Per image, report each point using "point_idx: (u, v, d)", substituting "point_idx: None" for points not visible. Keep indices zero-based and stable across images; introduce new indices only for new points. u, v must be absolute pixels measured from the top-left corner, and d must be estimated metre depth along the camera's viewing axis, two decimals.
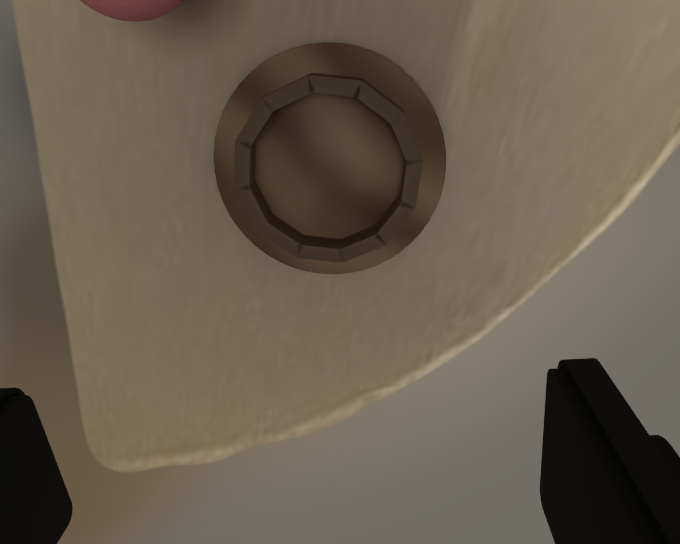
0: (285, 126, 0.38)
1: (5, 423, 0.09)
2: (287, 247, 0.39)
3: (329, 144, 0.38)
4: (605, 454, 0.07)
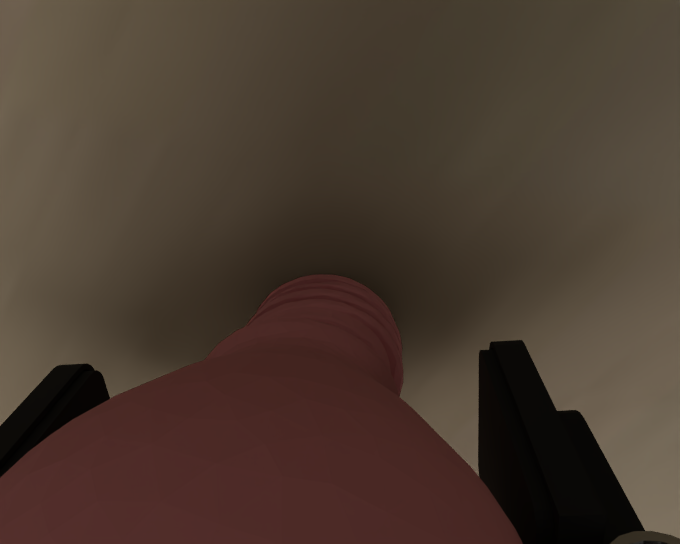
0: None
1: (82, 395, 0.10)
2: None
3: None
4: (513, 423, 0.08)
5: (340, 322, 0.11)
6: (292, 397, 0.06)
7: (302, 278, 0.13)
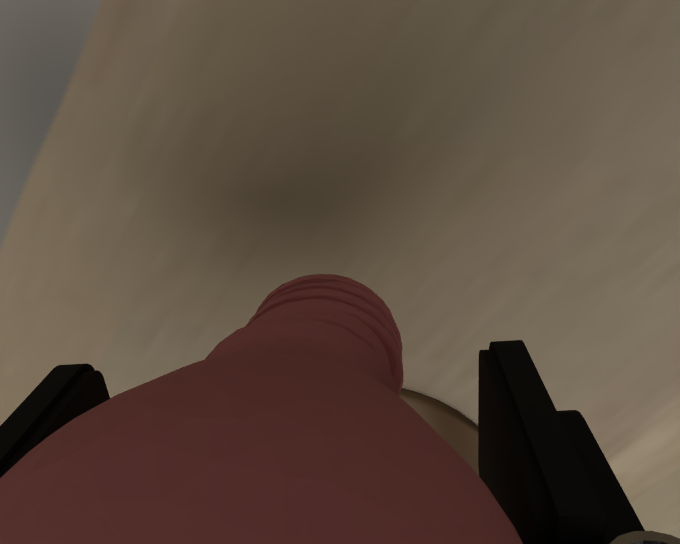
0: None
1: (82, 395, 0.10)
2: None
3: None
4: (513, 423, 0.08)
5: (340, 321, 0.11)
6: (292, 396, 0.06)
7: (302, 278, 0.13)
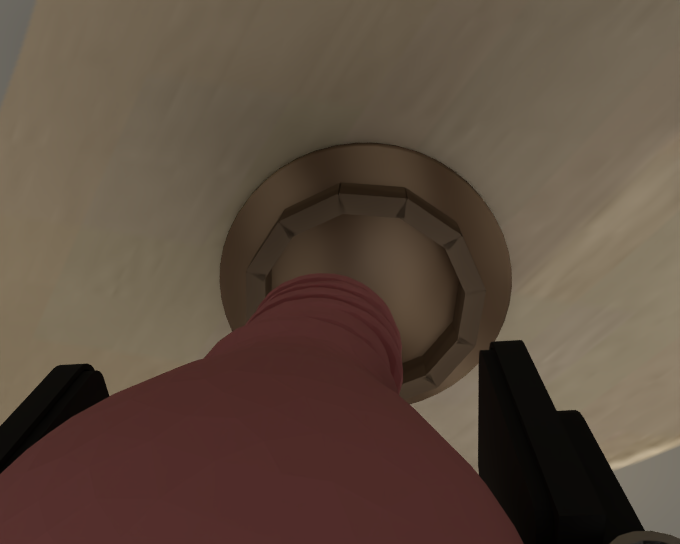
0: (341, 226, 0.29)
1: (82, 395, 0.10)
2: None
3: (379, 269, 0.30)
4: (513, 423, 0.08)
5: (340, 321, 0.11)
6: (292, 394, 0.06)
7: (302, 277, 0.13)
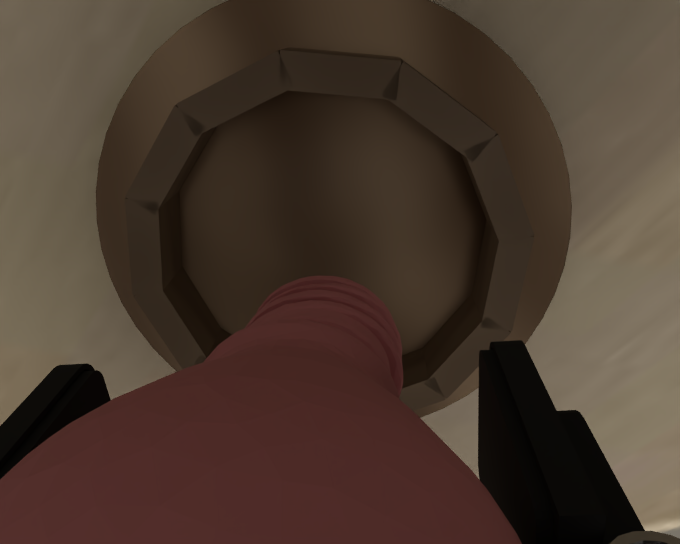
0: (291, 127, 0.18)
1: (82, 395, 0.10)
2: (177, 348, 0.19)
3: (354, 204, 0.18)
4: (513, 423, 0.08)
5: (340, 323, 0.11)
6: (292, 400, 0.06)
7: (302, 279, 0.13)
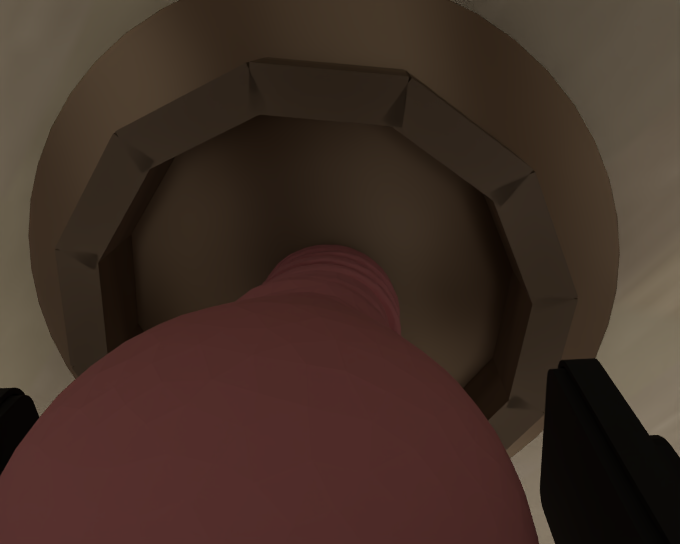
0: (268, 157, 0.14)
1: (5, 423, 0.09)
2: None
3: None
4: (605, 454, 0.07)
5: (344, 282, 0.12)
6: (310, 316, 0.07)
7: (308, 248, 0.14)
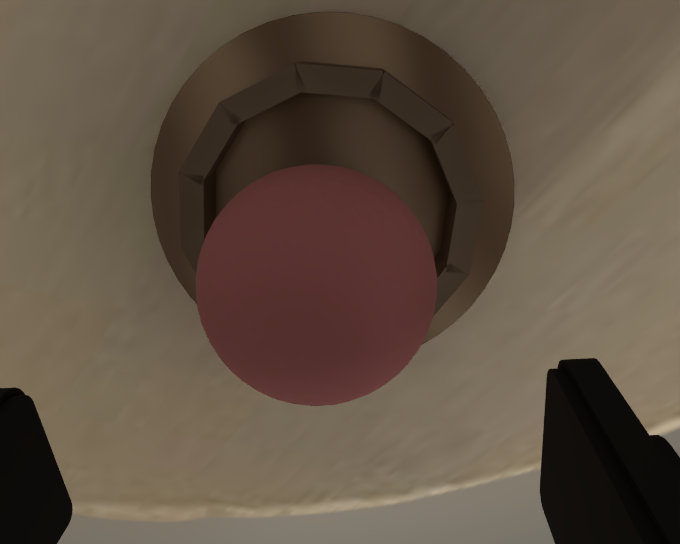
0: (301, 121, 0.23)
1: (5, 423, 0.09)
2: None
3: None
4: (605, 454, 0.07)
5: None
6: (337, 166, 0.16)
7: None
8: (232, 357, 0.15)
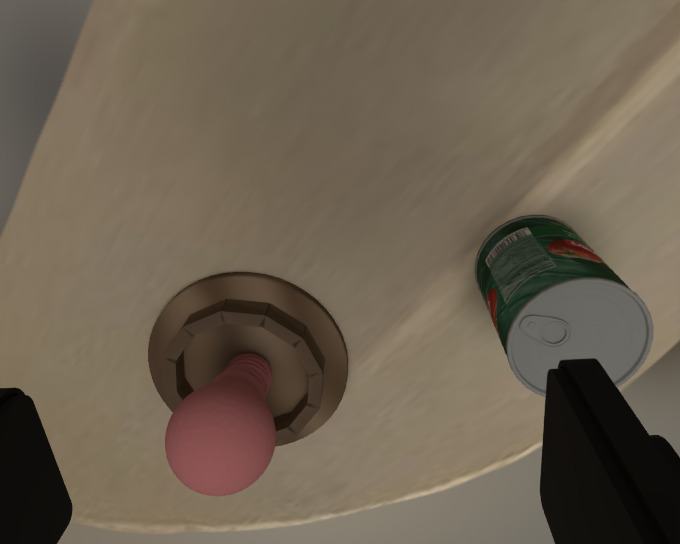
0: (229, 326, 0.43)
1: (5, 423, 0.09)
2: None
3: (256, 354, 0.44)
4: (605, 454, 0.07)
5: (249, 369, 0.41)
6: (228, 388, 0.36)
7: (242, 354, 0.43)
8: (179, 478, 0.35)
